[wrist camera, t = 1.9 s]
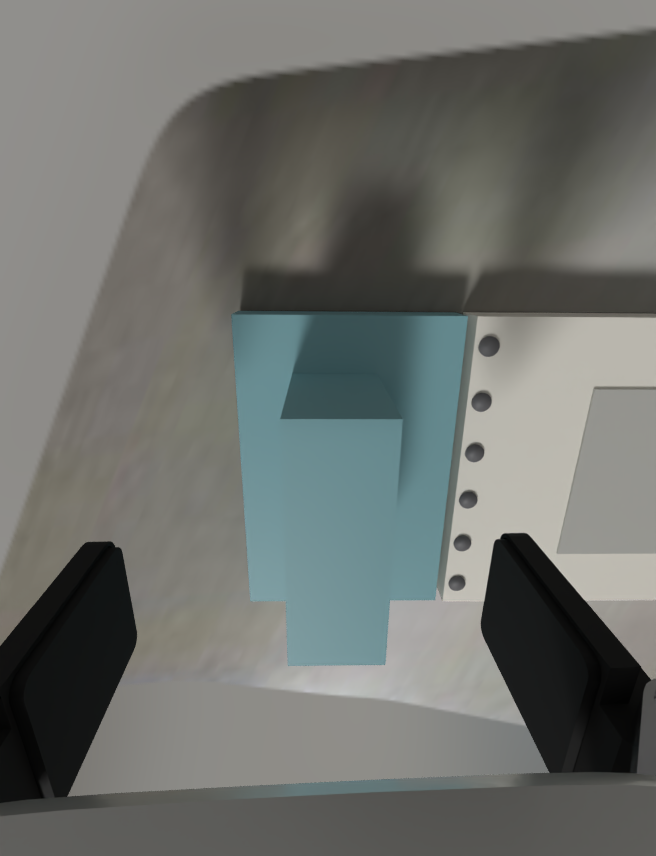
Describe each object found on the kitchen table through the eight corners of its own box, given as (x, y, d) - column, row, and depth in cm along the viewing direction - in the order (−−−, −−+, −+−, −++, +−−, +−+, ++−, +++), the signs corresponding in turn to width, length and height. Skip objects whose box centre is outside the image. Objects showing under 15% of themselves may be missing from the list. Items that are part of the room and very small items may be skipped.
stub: (455, 312, 16) (538, 337, 10) (427, 578, 20) (473, 709, 14) (238, 310, 16) (188, 335, 10) (254, 579, 20) (227, 712, 14)
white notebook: (829, 314, 16) (884, 319, 15) (726, 575, 20) (761, 601, 19) (462, 312, 16) (479, 316, 14) (433, 576, 20) (443, 603, 19)
